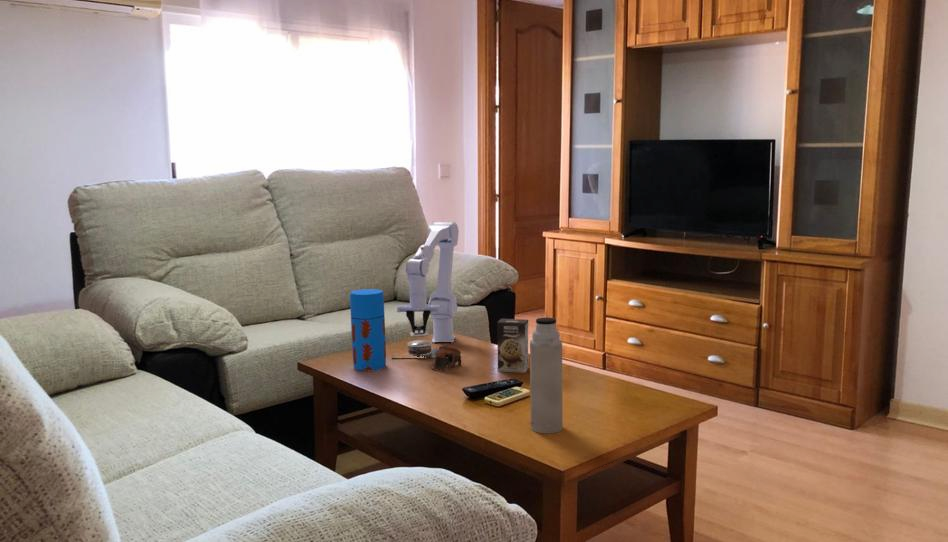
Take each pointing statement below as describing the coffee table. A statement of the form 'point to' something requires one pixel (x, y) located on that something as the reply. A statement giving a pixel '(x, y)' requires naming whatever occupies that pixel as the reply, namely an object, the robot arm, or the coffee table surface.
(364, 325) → the thermos
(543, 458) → the coffee table surface
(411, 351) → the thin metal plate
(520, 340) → the grey cardboard box
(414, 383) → the coffee table surface
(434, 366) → the brown animal figurine
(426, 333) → the silver lid with knob
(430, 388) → the coffee table surface
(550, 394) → the thermos bottle
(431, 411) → the coffee table surface
